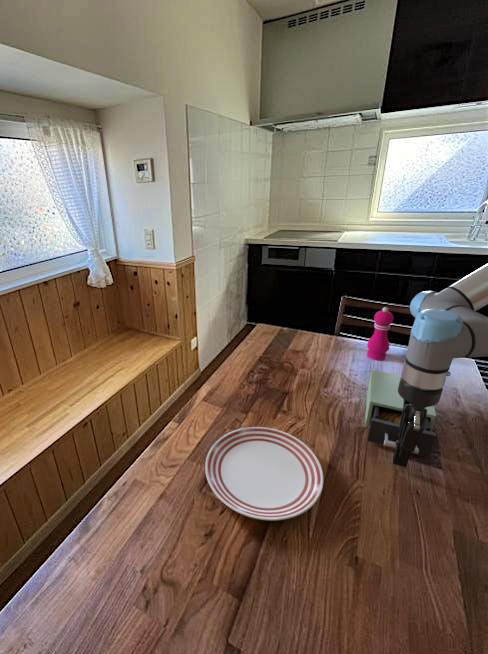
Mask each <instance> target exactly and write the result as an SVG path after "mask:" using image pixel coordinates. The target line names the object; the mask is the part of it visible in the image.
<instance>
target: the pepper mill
mask: <svg viewBox="0 0 488 654" xmlns="http://www.w3.org/2000/svg"><path fill="white" fill-rule="evenodd" d="M373 319H374V325H373V327H374V331H373V334H372V336H370V337H369V339H368V341H367V344H366V347H367V352H366V356H367V357H368V358H369V359H370V360H371V359H372V360H373V361H384V360H385V359H386V358H387V352H388V351H389V350H390V342H389V338H388V331H389V330H390V329H391V324H392V323H393V321H394V315H393V313H392V312H390V311H389V308H388V307H385V306H384V307H383V308H382V309H381V310H379V311H376V313H375V314H374V317H373Z"/></svg>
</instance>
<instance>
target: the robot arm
mask: <svg viewBox="0 0 488 654" xmlns="http://www.w3.org/2000/svg"><path fill="white" fill-rule="evenodd" d="M487 305H488V263H486V264H485V265H483V266H481V267H479V268H478V269H476V270H474V271H473V272H471V273H469V274H468V275H466V276H464V277H463V278H461V279H459V280H457V281H456V282H454V283H452V284H451V285H449V286H448V287H446V288H444V289H443V290H441V291H439V292H438V291H434V290H425V291H421V292H418V293H417V294H416V295H415V296H414V297H413V298H412V300H411V301H410V304H409V311H410V314H411V315H412V317H414V322H413V324H412V327H411V330H410V336H409V341H408V345H407V350H406V354H405V358H404V362H403V365H402V369H401V374H400V375H401V376H402V377H401V379H400V383H399V387H398V393H399V395H400V396H401V397H402V398H403V399H404V401H403V403H404V405H403V410H402V415H401V420H400V425H399V428H398V429H399V431H400V432H399V434H398V436H399V438H400V439H398V441H397V440H396V448H394V449H395V450H394V452H393V457H392V464H393V465H396V466H399V467H403V468H407V466H408V463H409V459H410V455H411V454H412V453H411V452H414V451H415V448H416V445H417V443H418V440H419V438H420V435H421V433H422V432H423V431H424V429H425V427H424V425H422V423H423V420H424V417H426V414H427V409H425V408H426V407H430V406H434V407H435V406H436V405H438V404H439V403H440V400H441V397H442V395H443V390H444V386H445V383H446V379H447V377H451V375H452V373H451V371H449V370H450V368H451V365H452V362H453V360H454V359H464V358H484V357H486V358H487V357H488V316H486V315H484V314H482V313H480V312H477V311H478V310H480V309H482V308H483V307H485V306H487Z"/></svg>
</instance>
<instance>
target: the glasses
mask: <svg viewBox="0 0 488 654" xmlns="http://www.w3.org/2000/svg"><path fill="white" fill-rule="evenodd" d="M261 358H265V359H267V360H268V363H264V362H263V361H262V360H261ZM258 362H259V364H260V365H262V364H264V365H267V366H266V367H269V366H271V364H272V363H276V364H279V365H280V367H281V369H282V370H283V371H284V372H288V373H287V374H286V377H285V378H283V380H282V382H281V386H280V390H279V392H280V393H283V389H284V388H283V387H284V383H285V382H286V381H287V380H288V378H289V376H290V374H291V373H292V372H294V369H295V366H294V364H293V363H292V362H290V361H288V360H283V361H279V360H276V359H271V358H270V357H269V356H267V355H264V354H262V355H259V357H258V358H257V359H256V361H255V363H254V364H253V366H252V367H251V368H250V369H249V370H248V371H247V373H246V377H245V381H246V380H247V379H249V375H250V373H251V372H252V371H253V370H254V369H255V368H256V366H257V364H258ZM283 364H289V365H290V366H291V367H290V369H286V368H285V367H284V365H283ZM264 365H263V366H264ZM247 381H248V380H247Z"/></svg>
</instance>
